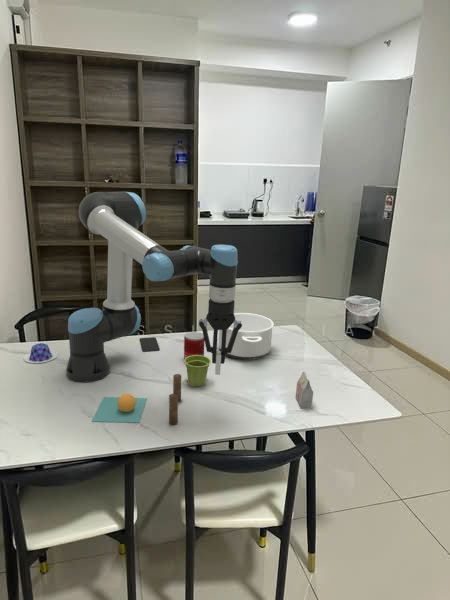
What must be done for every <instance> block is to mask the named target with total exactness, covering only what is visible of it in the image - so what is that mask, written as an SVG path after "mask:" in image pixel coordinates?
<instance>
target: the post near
mask: <svg viewBox="0 0 450 600" xmlns="http://www.w3.org/2000/svg"><path fill="white" fill-rule="evenodd" d="M178 413H179V403H178V395H177V394H173V393H170V394H169V395H168V424H169V425H171V426H176V425H178V423H179V414H178Z"/></svg>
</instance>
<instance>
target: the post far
mask: <svg viewBox="0 0 450 600" xmlns="http://www.w3.org/2000/svg"><path fill="white" fill-rule="evenodd" d="M172 378H173V379H172V382H173V383H172V390H173V391H172V394H177V395H178V404H179V403H181V402H182V374H180V373H176V374H175V373H174V374H173V377H172Z"/></svg>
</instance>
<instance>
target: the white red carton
mask: <svg viewBox="0 0 450 600" xmlns="http://www.w3.org/2000/svg"><path fill="white" fill-rule="evenodd" d="M296 382H297V383H296V390H295V400H296V402H297V404H298V407H299V409H301V410H305V409H307V410H308V409H309V410H311V409H312V405H313V398H314V391H313V389H312V386H311V384H310V380H309V378H308V376H307V375H306V371H302V373H301V375H300V377H299V379H298V380H297V381H296Z"/></svg>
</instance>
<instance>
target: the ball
mask: <svg viewBox="0 0 450 600" xmlns="http://www.w3.org/2000/svg"><path fill="white" fill-rule="evenodd" d="M135 398H136V397H134V396H133V395H132V394H130V393H124V394H122V395H121V396H120V398H119V399H118V408H119V409H120V410H121V411H123V412H130V411H131V410H133V409H134V407H135V405H136V400H135Z"/></svg>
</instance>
